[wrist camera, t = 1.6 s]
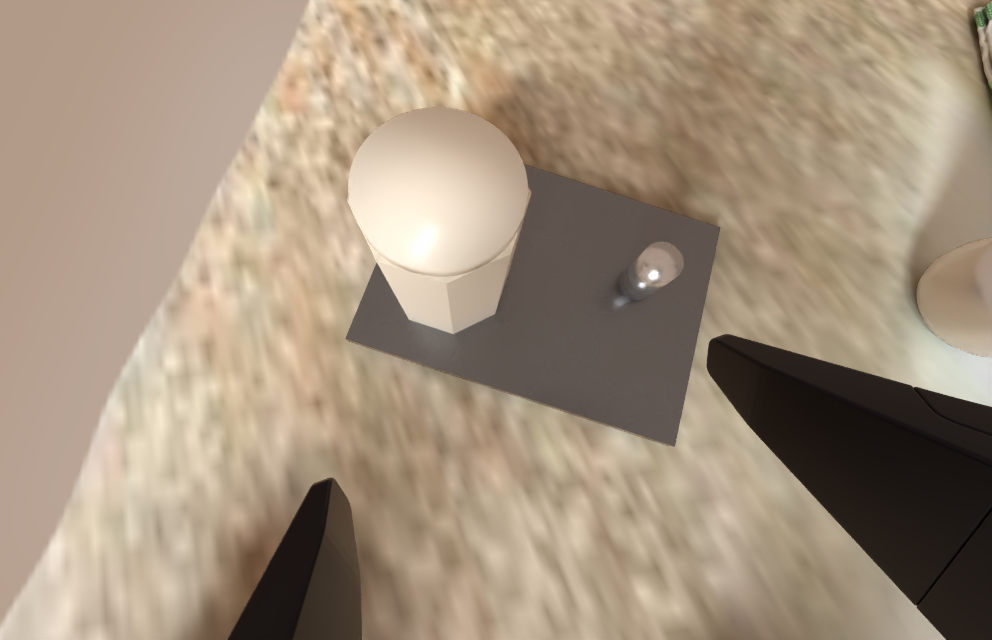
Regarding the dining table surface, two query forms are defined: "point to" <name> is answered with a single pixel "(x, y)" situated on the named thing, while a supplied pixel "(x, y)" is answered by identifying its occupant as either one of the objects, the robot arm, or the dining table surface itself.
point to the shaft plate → (576, 311)
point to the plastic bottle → (960, 297)
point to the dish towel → (985, 39)
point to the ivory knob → (441, 212)
